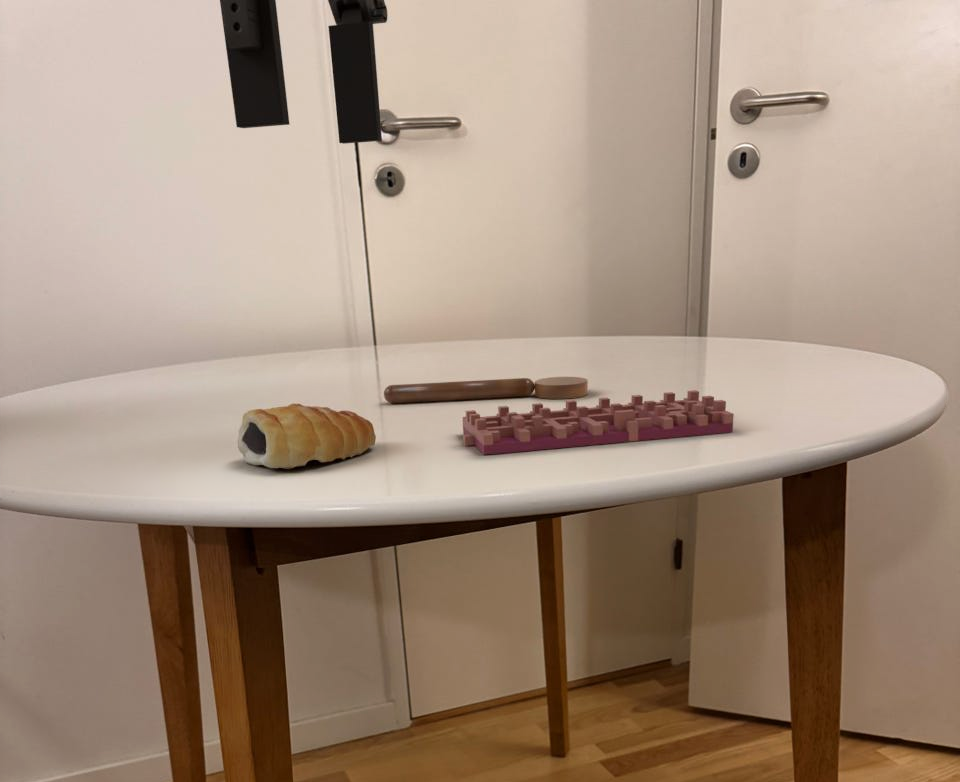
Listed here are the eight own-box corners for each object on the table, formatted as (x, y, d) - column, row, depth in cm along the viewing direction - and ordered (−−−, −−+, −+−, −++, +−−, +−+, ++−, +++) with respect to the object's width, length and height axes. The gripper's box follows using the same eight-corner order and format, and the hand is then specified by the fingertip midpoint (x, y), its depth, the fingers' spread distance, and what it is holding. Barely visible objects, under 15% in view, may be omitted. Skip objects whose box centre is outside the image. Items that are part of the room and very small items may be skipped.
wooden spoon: (383, 408, 82) (381, 389, 81) (385, 399, 86) (384, 381, 86) (591, 397, 82) (591, 378, 82) (583, 388, 87) (583, 371, 86)
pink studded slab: (454, 435, 70) (453, 408, 69) (690, 414, 74) (691, 388, 73) (474, 455, 64) (473, 426, 63) (732, 432, 67) (734, 404, 66)
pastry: (347, 438, 71) (342, 387, 69) (396, 453, 66) (392, 398, 64) (232, 461, 65) (223, 406, 64) (276, 478, 61) (269, 419, 59)
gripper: (202, -544, 35) (278, 110, 43) (419, -254, 56) (441, 143, 65) (33, -494, 37) (138, 122, 45) (306, -232, 58) (341, 150, 67)
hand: (317, 135), depth 55 cm, fingers open, 13 cm apart
